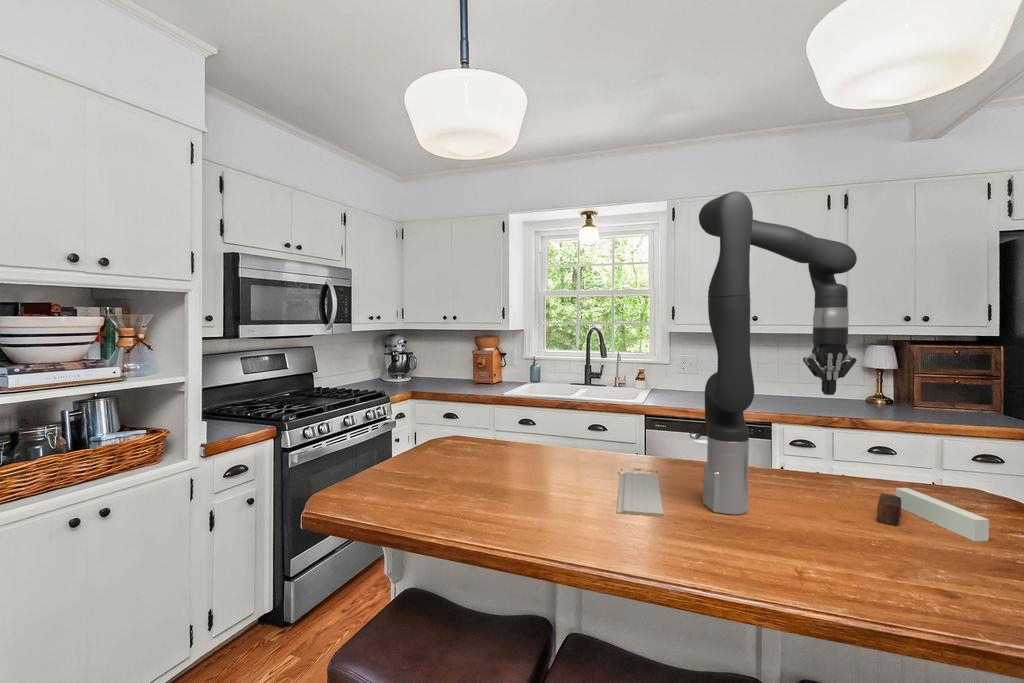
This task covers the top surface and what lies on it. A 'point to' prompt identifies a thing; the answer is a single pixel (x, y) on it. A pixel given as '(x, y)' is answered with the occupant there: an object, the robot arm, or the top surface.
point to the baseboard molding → (639, 495)
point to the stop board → (944, 514)
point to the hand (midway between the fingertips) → (828, 394)
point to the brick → (889, 509)
